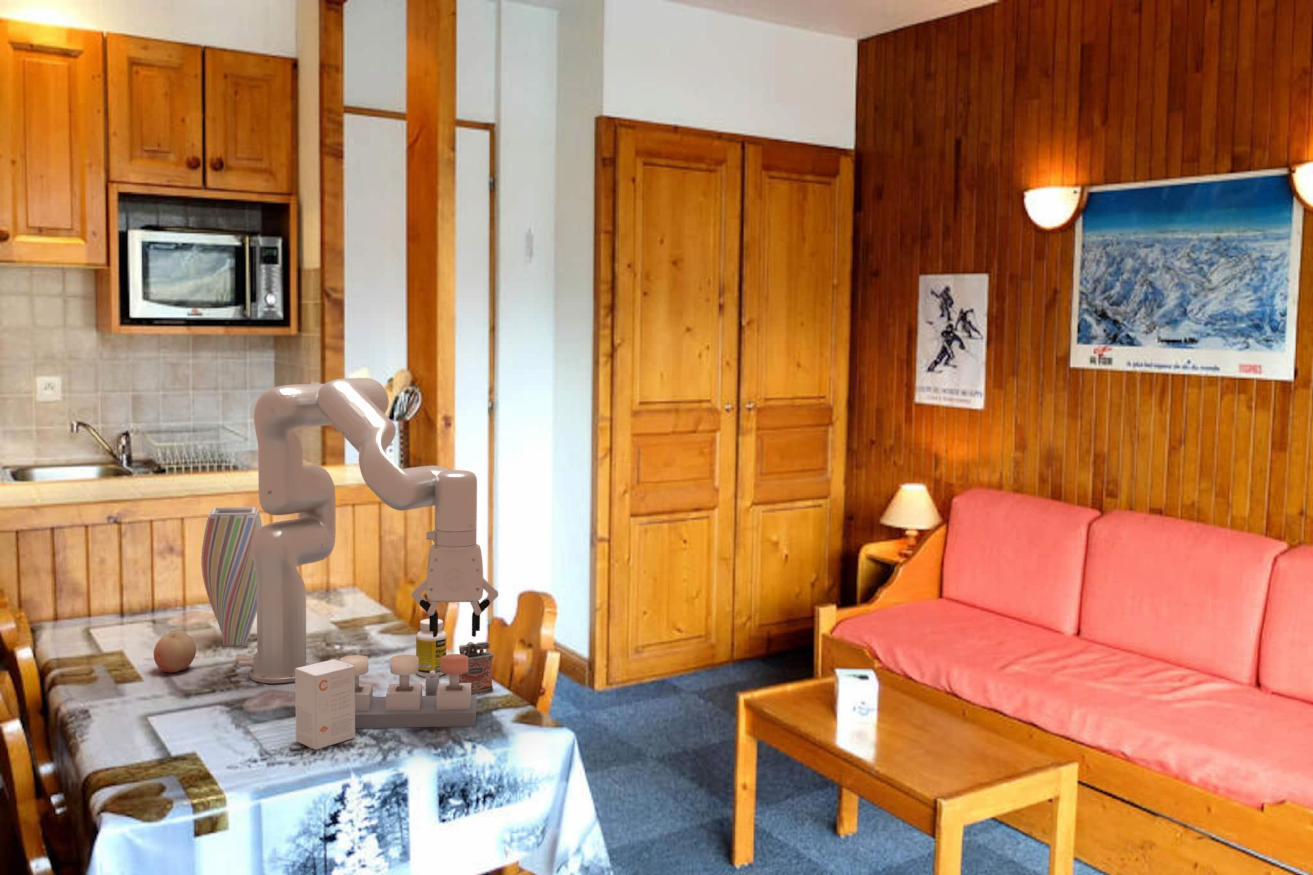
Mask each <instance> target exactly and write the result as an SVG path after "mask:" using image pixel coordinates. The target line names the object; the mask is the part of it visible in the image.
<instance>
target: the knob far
mask: <svg viewBox="0 0 1313 875" xmlns="http://www.w3.org/2000/svg"><path fill="white" fill-rule="evenodd" d="M441 672H442V673H444V674H443V675H449V676H448V678H449V679H448V681H449V682H448V683H449V687H450V688H458V687H459V674H463V673H466V672H468V656H466V655H462V654H460V653H450V654H446V655H445V656H442V657H441Z"/></svg>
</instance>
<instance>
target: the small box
mask: <svg viewBox="0 0 1313 875" xmlns="http://www.w3.org/2000/svg"><path fill="white" fill-rule="evenodd" d="M310 664H311V663H310ZM294 683H295V684H294V686H295V690H294V691H295V692H294V693H295V741H296V742H297V743H299V744H302V745H303V746H305V747H306V746H307V747H309V748H311V749H314V750H315V751H316V750H317V751H318V750H320V749H323V748H326V747H329V746H332V745H333V746H334V745H336V744H338V743H339V744H340V743H342V742H346V741H350V740H351V739H355V738H356V728H355V666H353V665H351V664H348V663H345V662H342V661H340V659H335V658H332V659H329V660H325V661H320V662H316V663H312V664H311V665H307V666H303V667H299V668H295V682H294Z"/></svg>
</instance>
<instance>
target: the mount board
mask: <svg viewBox="0 0 1313 875" xmlns="http://www.w3.org/2000/svg"><path fill="white" fill-rule="evenodd" d="M373 690H374V684H370V683H369V684H367V683H366V684H360V683H359V688H358V689H355V729H384V728H385V729H391V728H393V729H394V728H395V729H396V728H432V727H433V728H439V727H440V728H443V727H446V728H447V727H448V728H449V727H450V728H451V727H475V726H476V719H477V706H478V705H477V701H478V700H477V699H478V698H477V697H478V695H471V683H459V687H458V688H450V687H449V682H448V683H446V682H443V683H442V682H441V683H440V682H439V684H438V689H437V696H425V695H423V683H409V688H407V689H401V688H399V683H389V684H388V687H387V689H386V693H385V696H374V691H373Z"/></svg>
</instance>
